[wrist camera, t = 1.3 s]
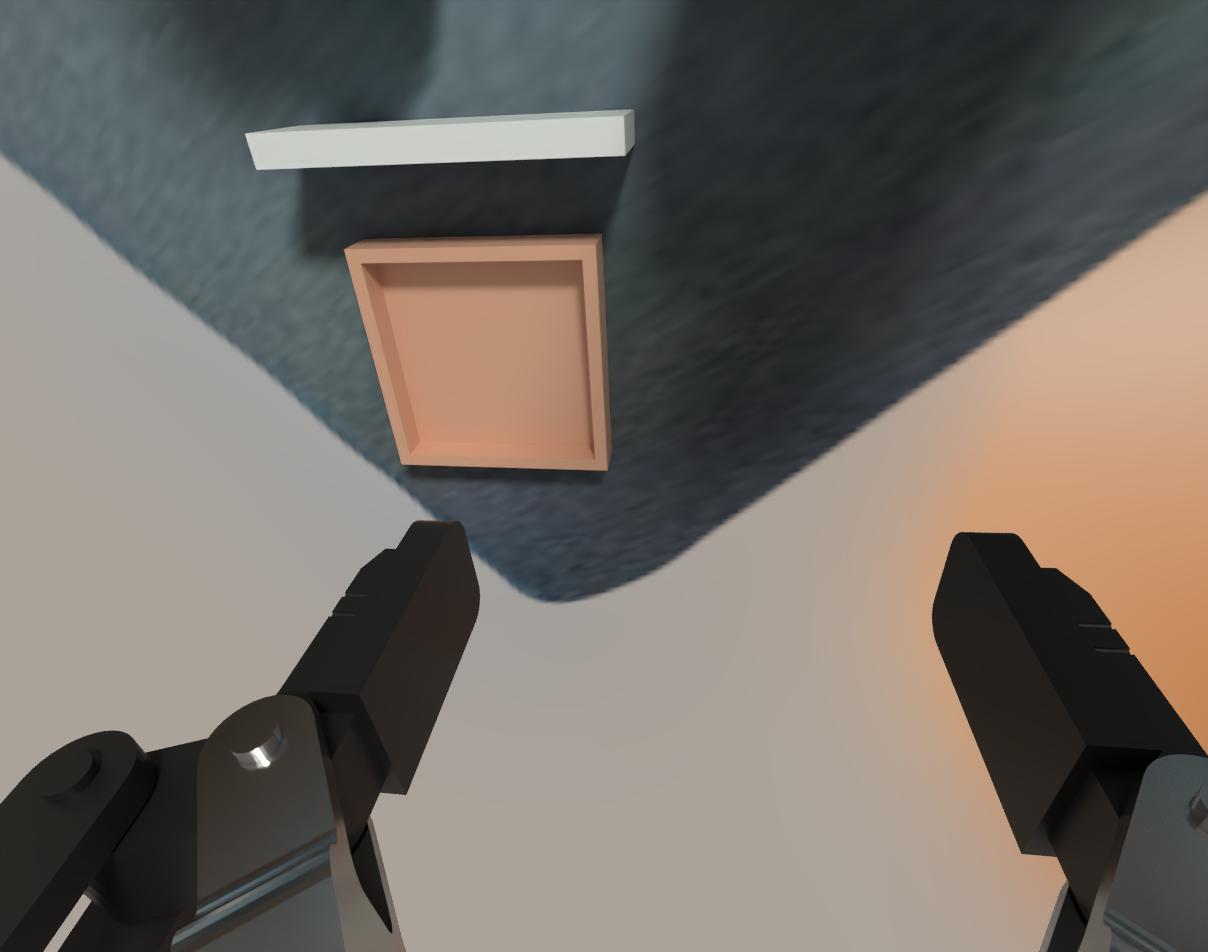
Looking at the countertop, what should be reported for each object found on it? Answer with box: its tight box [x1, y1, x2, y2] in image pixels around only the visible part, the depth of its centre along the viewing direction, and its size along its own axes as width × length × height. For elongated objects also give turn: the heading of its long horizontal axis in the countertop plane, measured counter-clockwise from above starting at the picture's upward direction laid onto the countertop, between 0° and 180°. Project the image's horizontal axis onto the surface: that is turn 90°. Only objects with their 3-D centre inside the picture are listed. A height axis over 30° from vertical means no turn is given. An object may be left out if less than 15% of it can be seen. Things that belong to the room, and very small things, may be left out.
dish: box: [344, 234, 612, 471], centre depth 30 cm, size 11×11×2 cm
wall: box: [245, 109, 635, 170], centre depth 24 cm, size 1×14×4 cm, turn 93°
